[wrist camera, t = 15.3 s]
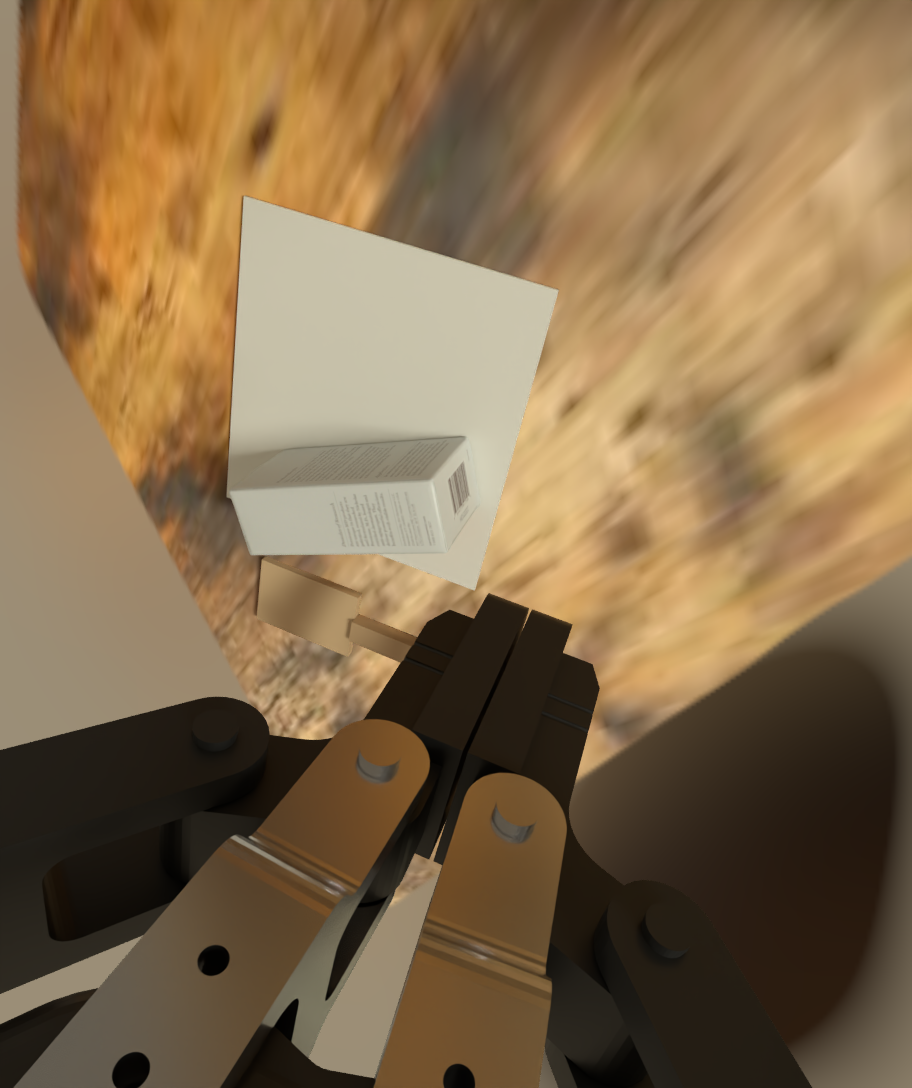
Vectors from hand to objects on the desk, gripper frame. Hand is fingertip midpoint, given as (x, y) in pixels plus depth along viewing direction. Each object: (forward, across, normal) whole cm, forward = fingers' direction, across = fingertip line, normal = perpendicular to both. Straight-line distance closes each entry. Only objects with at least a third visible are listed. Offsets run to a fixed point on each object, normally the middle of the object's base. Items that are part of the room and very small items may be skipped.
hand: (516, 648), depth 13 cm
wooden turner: (+27, +12, +24) cm, 38 cm away
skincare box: (+24, +6, +10) cm, 27 cm away
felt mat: (+27, +14, +9) cm, 31 cm away
